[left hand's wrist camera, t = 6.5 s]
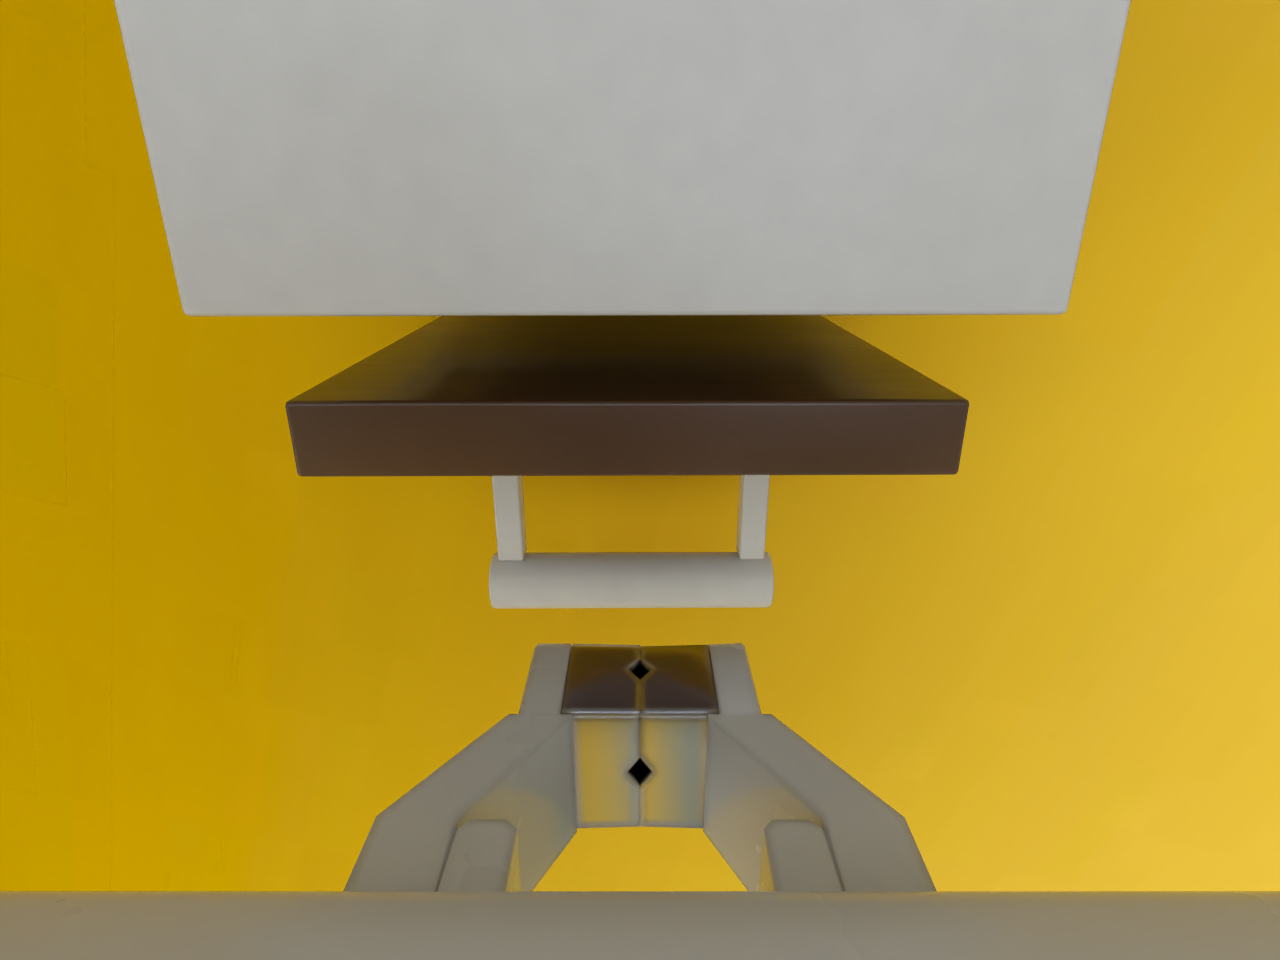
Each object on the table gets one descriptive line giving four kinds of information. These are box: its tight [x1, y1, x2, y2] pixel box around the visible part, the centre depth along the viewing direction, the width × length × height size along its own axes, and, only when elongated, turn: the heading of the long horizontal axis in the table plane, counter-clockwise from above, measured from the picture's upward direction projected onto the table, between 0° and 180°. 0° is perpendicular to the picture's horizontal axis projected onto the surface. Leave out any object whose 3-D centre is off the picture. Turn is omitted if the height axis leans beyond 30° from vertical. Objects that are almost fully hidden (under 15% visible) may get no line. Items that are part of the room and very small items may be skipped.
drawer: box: [286, 315, 969, 608], centre depth 13 cm, size 24×10×10 cm, turn 0°
